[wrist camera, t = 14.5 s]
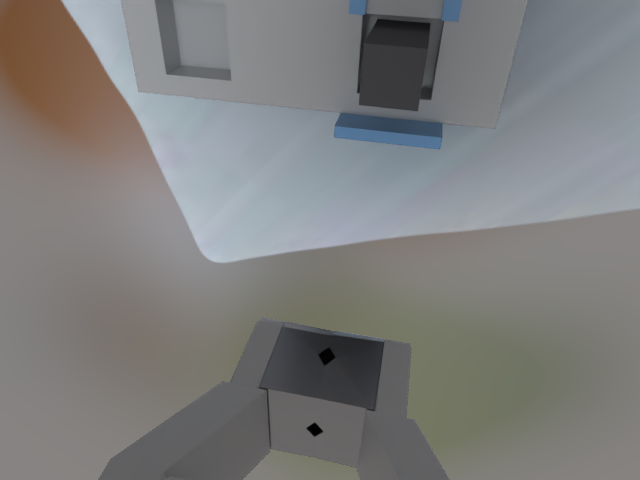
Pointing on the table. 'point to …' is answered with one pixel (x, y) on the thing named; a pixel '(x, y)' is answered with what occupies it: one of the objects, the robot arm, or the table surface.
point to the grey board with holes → (327, 58)
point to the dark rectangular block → (394, 64)
